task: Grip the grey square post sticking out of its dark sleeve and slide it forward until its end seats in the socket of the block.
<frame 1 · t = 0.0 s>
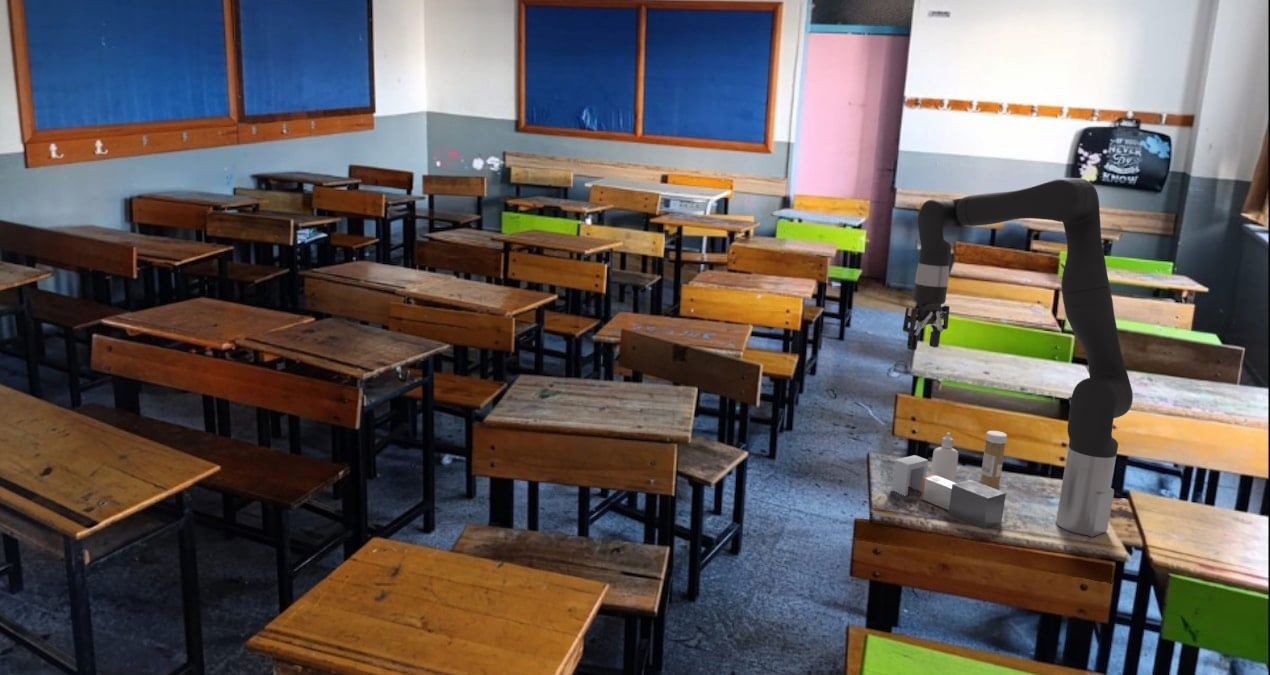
hand: (922, 348, 233), 29 cm above the table, tool pointing down, fingers open, 8 cm apart
sprinkles bottle: (988, 488, 225), on the table
eye dropper bottle: (941, 482, 227), on the table
grey square post: (957, 498, 208), point 3 cm above the table, slide at 0.0 cm
sleeve: (972, 517, 205), on the table
socket block: (907, 490, 219), on the table
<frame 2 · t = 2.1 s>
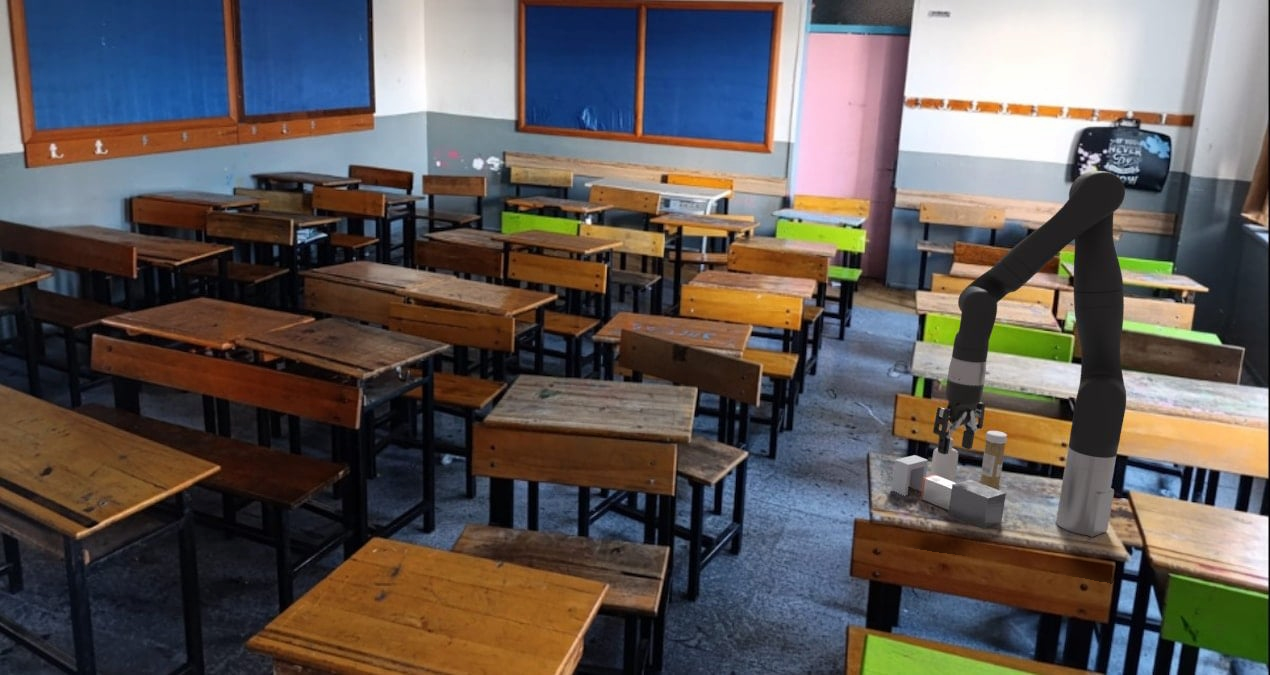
hand: (954, 450, 208), 13 cm above the table, tool pointing down, fingers open, 8 cm apart
nothing on the table moved.
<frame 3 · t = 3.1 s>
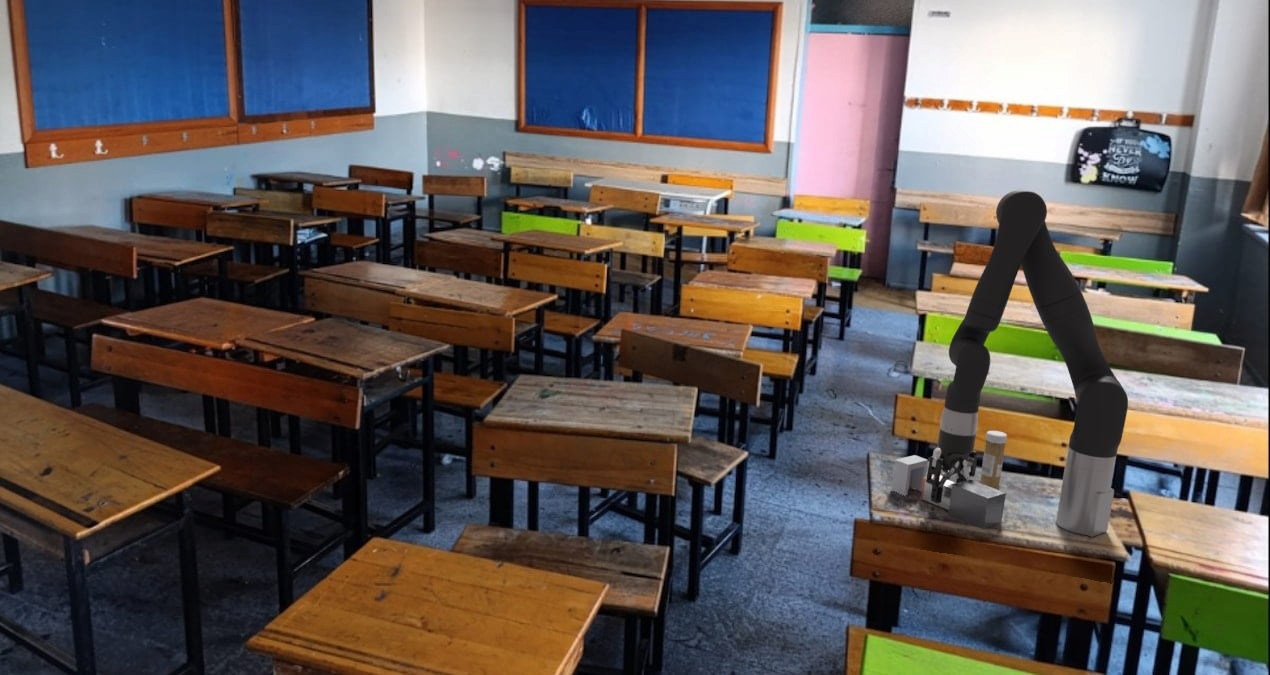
hand: (947, 498, 210), 2 cm above the table, tool pointing down, fingers open, 8 cm apart
nothing on the table moved.
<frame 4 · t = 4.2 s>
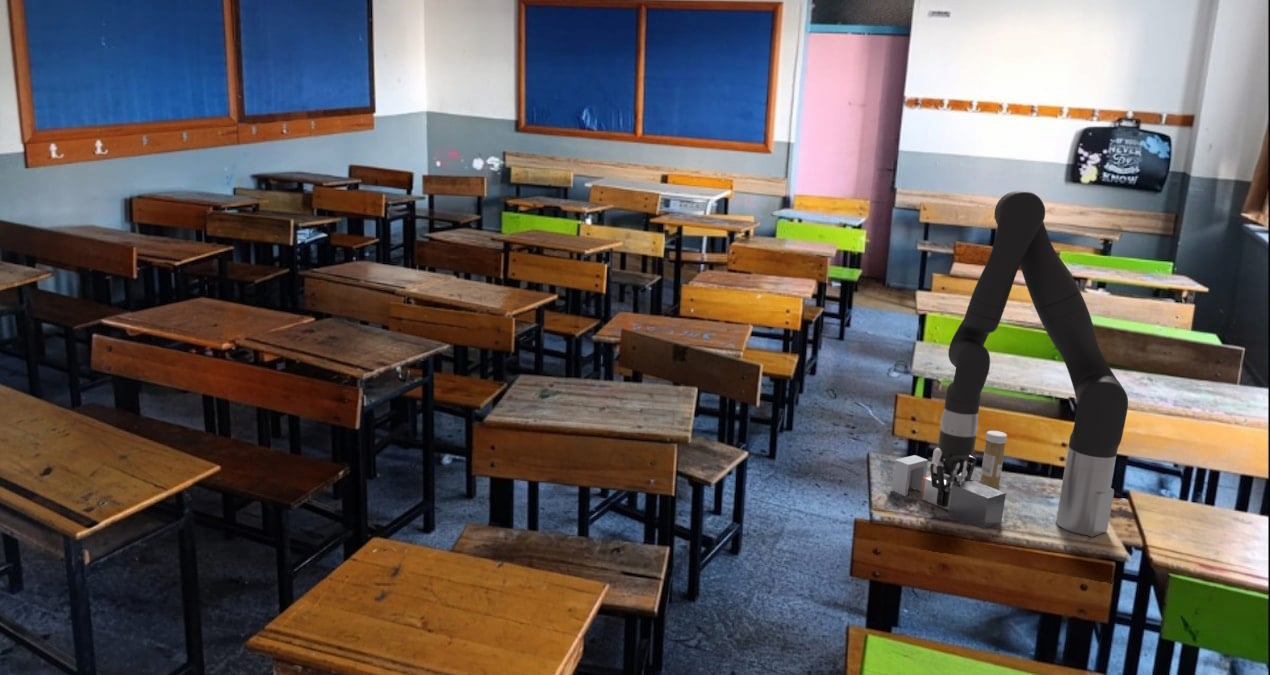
hand: (948, 503, 210), 1 cm above the table, tool pointing down, fingers closed on grey square post, 4 cm apart
grey square post: (957, 498, 208), point 3 cm above the table, slide at 0.0 cm, touching gripper
everything else where it was.
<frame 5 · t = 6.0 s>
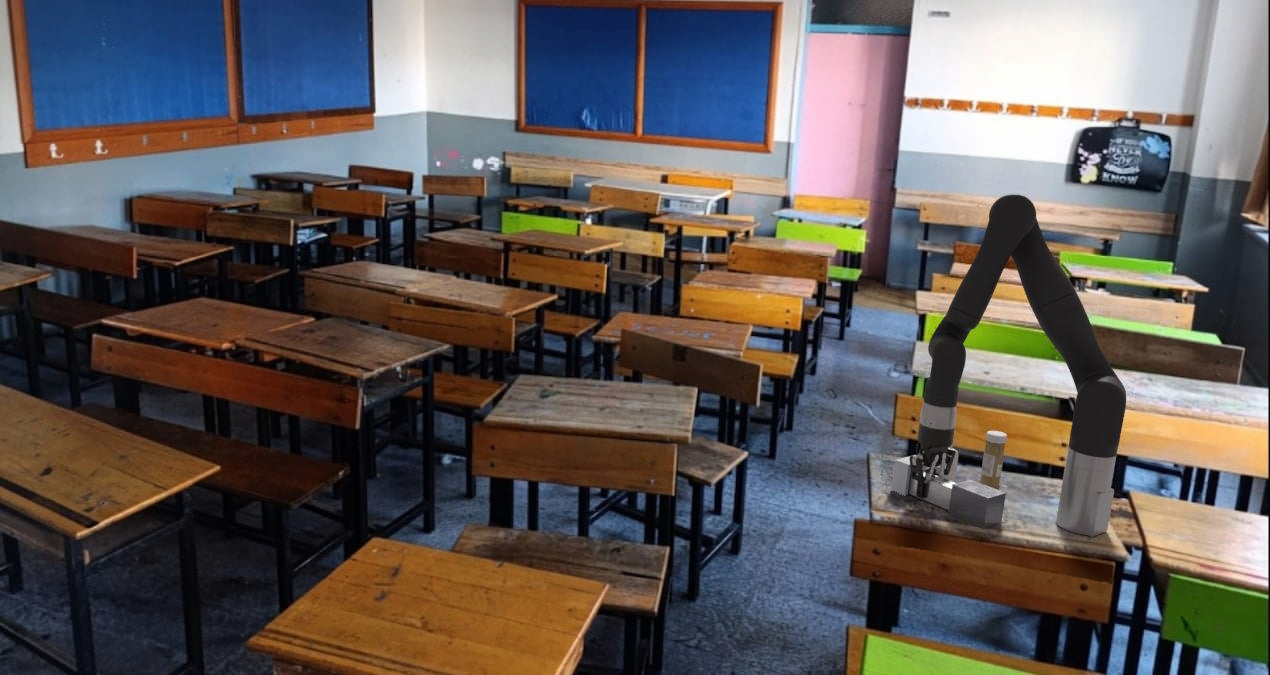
hand: (927, 495, 215), 1 cm above the table, tool pointing down, fingers closed on grey square post, 4 cm apart
grey square post: (936, 490, 212), point 3 cm above the table, slide at 5.5 cm, touching gripper
everything else where it was.
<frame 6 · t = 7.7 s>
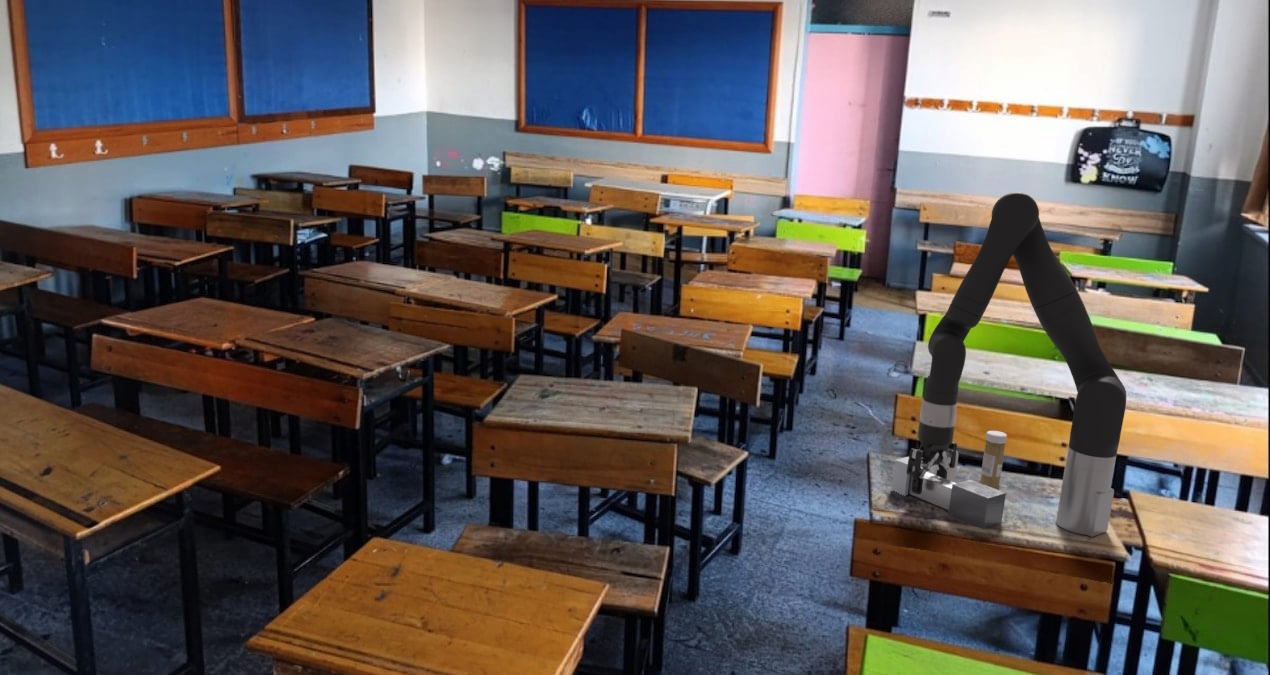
hand: (928, 489, 214), 2 cm above the table, tool pointing down, fingers open, 8 cm apart
grey square post: (936, 490, 212), point 3 cm above the table, slide at 5.5 cm
everything else where it was.
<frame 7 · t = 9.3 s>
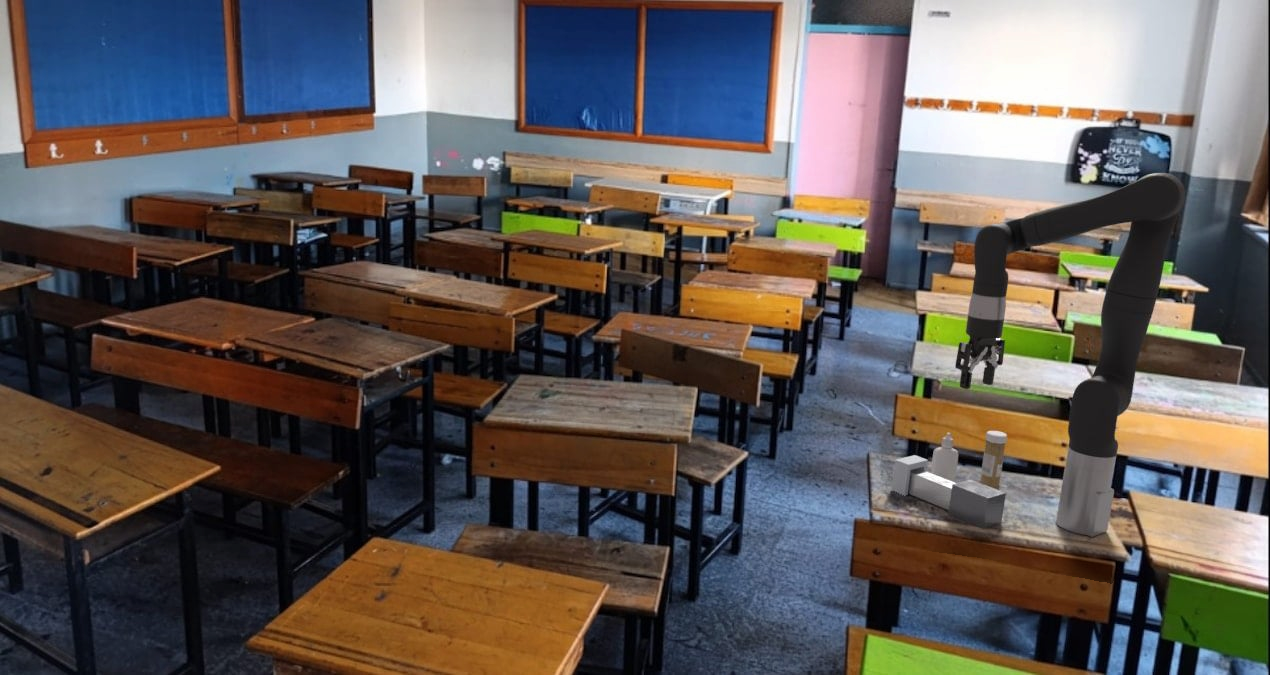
hand: (976, 386, 213), 26 cm above the table, tool pointing down, fingers open, 8 cm apart
nothing on the table moved.
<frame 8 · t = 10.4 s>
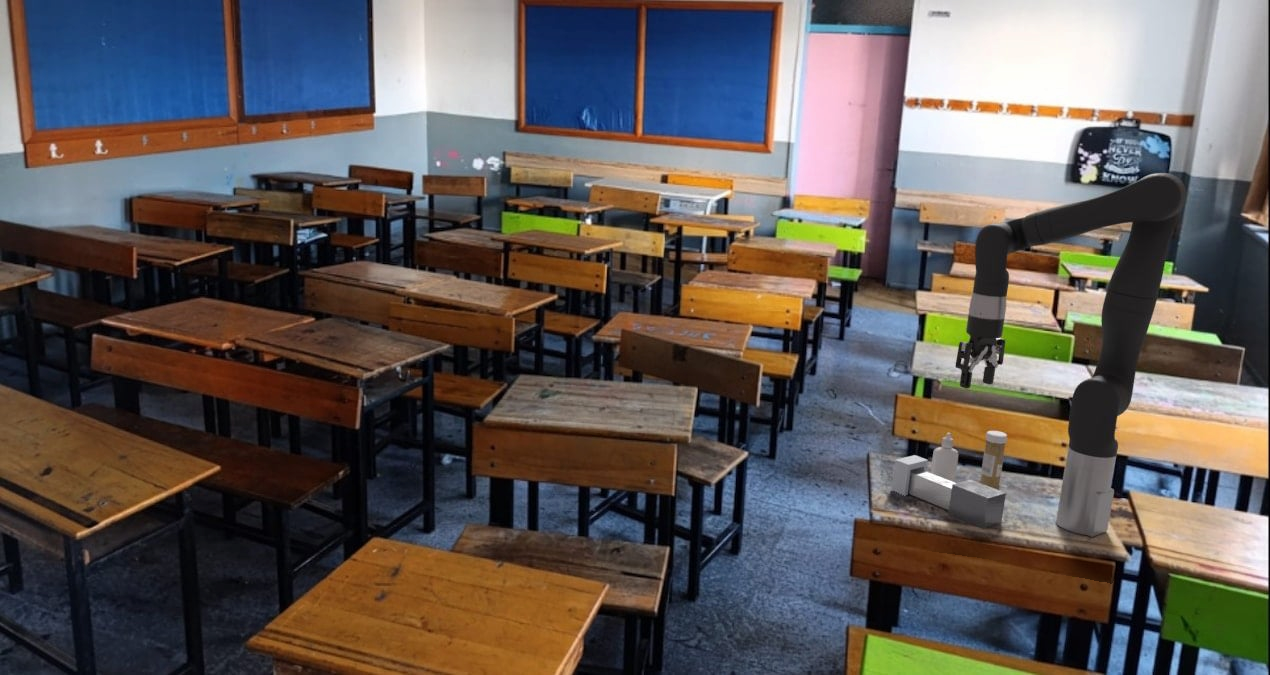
hand: (976, 385, 213), 26 cm above the table, tool pointing down, fingers open, 8 cm apart
nothing on the table moved.
at the end: grey square post slide at 5.5 cm; the gripper is holding nothing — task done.
